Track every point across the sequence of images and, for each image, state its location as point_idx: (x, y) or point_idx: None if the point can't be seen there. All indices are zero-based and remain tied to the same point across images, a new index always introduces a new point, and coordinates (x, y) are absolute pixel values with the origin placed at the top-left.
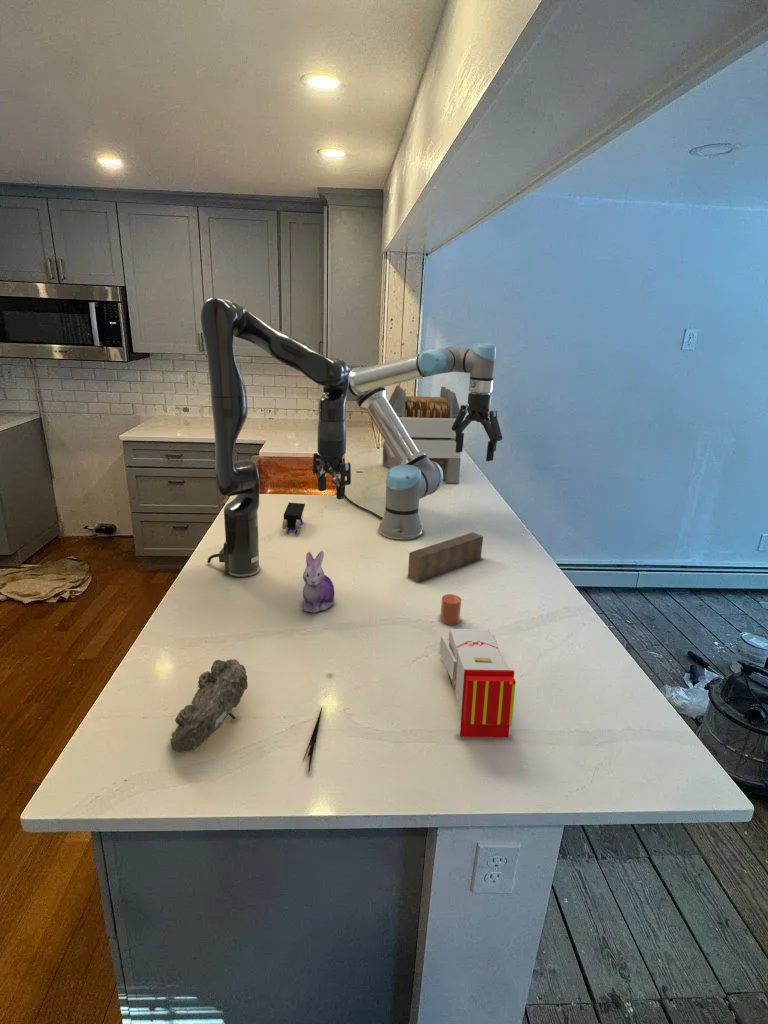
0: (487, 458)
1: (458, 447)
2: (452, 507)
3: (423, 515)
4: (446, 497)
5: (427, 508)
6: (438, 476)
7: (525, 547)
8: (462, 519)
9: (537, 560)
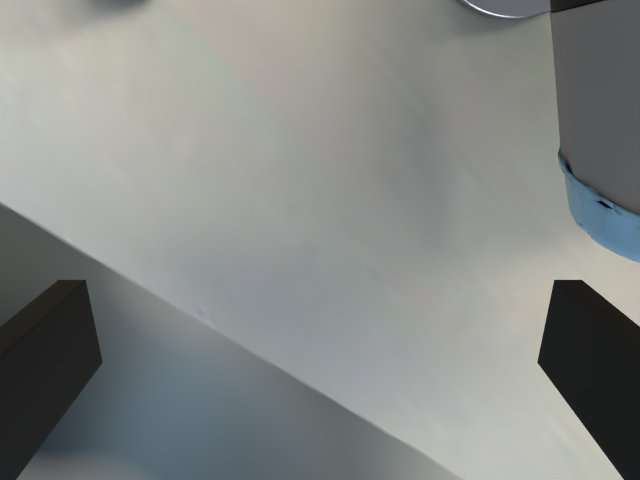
0: (46, 295)
1: (586, 329)
2: None
3: None
4: None
5: None
6: (605, 176)
7: (113, 237)
8: (437, 261)
9: (4, 178)
